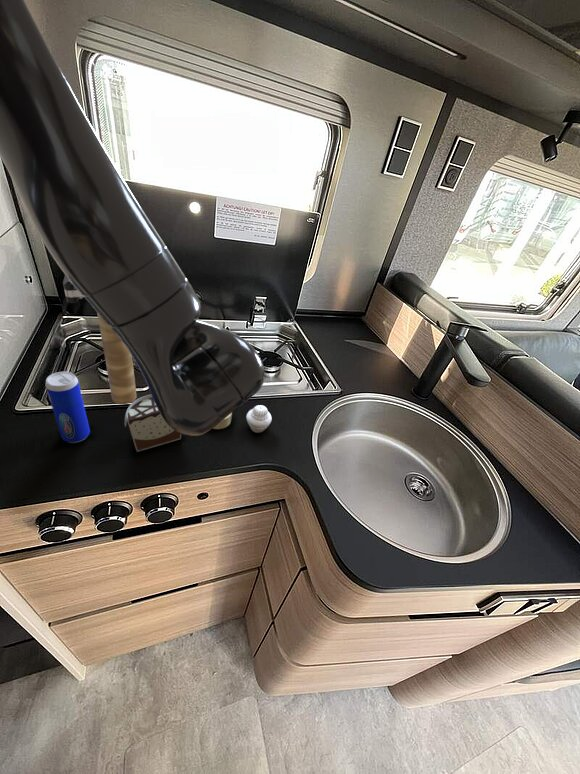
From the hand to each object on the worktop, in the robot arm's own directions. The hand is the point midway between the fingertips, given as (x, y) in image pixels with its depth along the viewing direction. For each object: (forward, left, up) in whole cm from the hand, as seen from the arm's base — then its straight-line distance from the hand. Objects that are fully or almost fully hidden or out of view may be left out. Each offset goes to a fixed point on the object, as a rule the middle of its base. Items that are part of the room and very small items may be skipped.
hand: (100, 263), depth 50 cm
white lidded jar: (+27, -11, -38) cm, 48 cm away
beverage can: (-8, +6, -38) cm, 39 cm away
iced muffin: (+5, -2, -38) cm, 39 cm away
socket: (+20, -4, -38) cm, 43 cm away
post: (0, -3, -24) cm, 24 cm away
